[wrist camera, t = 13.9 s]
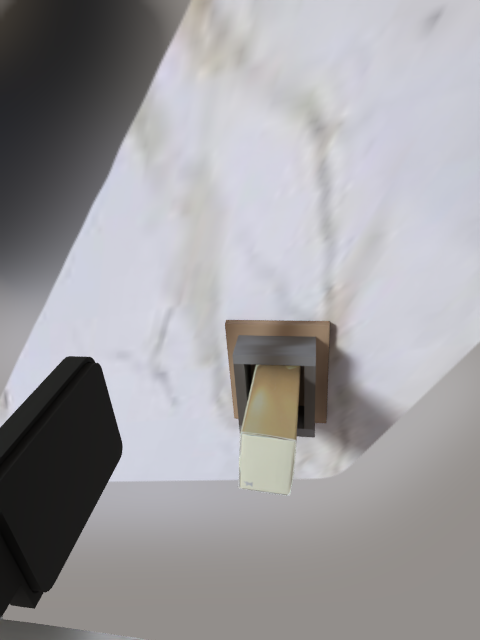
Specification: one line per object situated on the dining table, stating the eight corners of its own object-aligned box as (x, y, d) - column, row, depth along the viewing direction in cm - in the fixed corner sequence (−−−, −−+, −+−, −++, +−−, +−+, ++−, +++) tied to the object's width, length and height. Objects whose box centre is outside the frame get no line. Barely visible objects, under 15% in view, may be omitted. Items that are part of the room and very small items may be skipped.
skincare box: (296, 401, 44) (290, 500, 34) (255, 396, 45) (237, 492, 34) (302, 350, 41) (298, 441, 31) (258, 345, 42) (239, 433, 31)
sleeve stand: (329, 321, 40) (330, 345, 36) (326, 418, 46) (327, 447, 42) (226, 320, 42) (217, 342, 38) (235, 413, 47) (228, 441, 44)
